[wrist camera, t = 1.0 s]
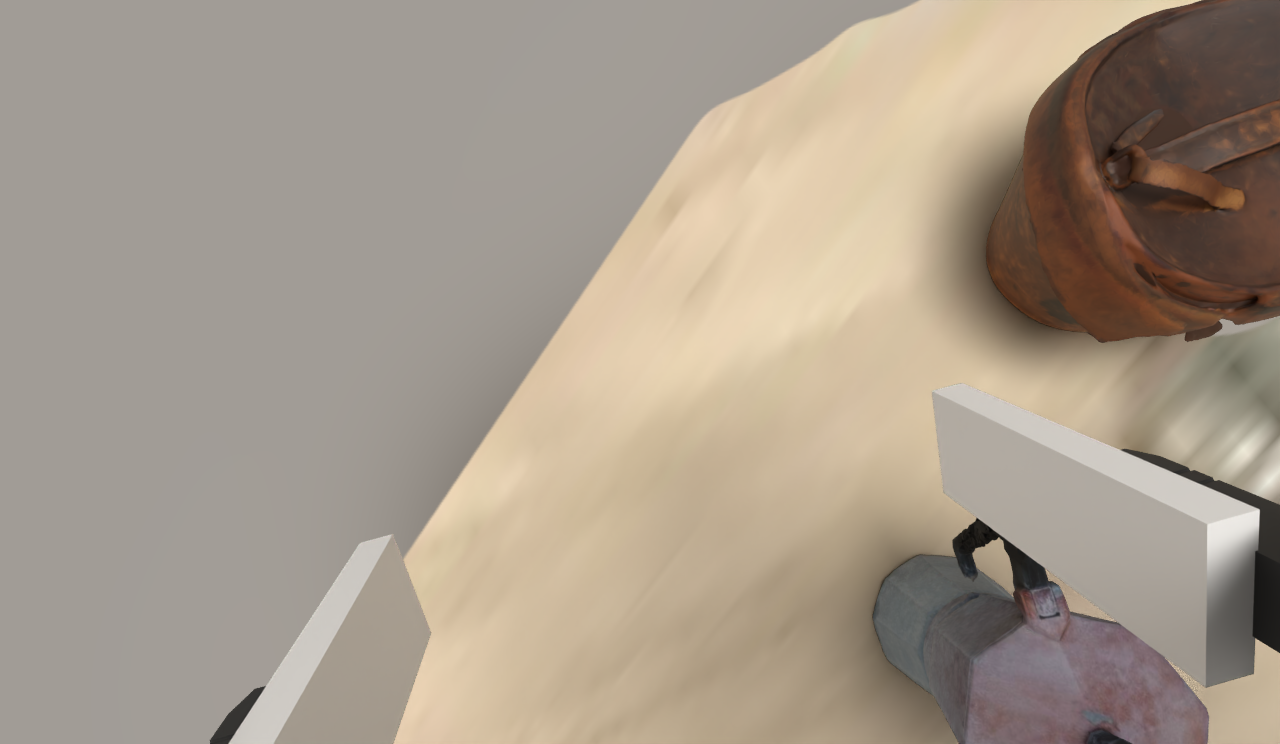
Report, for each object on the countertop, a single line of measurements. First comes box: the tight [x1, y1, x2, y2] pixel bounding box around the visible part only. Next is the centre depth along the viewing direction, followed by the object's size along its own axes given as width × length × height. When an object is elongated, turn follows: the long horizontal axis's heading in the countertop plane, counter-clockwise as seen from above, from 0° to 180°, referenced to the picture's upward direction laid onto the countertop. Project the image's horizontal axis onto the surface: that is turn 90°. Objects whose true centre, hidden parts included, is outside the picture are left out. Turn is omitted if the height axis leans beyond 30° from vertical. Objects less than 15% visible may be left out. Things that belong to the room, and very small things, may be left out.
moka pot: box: [873, 518, 1209, 744], centre depth 32 cm, size 10×15×20 cm, turn 17°
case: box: [986, 0, 1280, 343], centre depth 37 cm, size 18×20×18 cm
